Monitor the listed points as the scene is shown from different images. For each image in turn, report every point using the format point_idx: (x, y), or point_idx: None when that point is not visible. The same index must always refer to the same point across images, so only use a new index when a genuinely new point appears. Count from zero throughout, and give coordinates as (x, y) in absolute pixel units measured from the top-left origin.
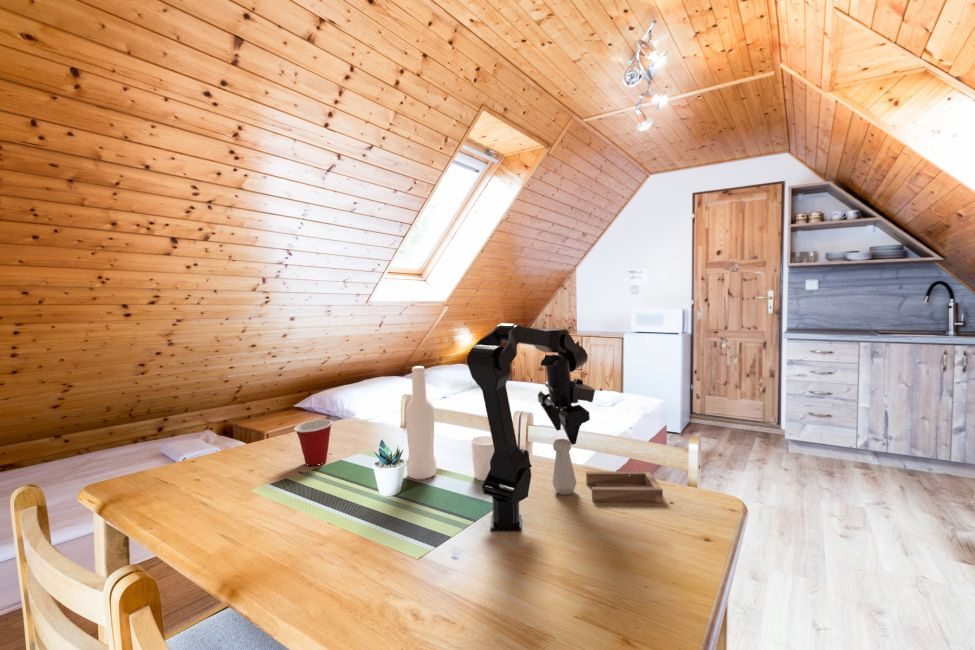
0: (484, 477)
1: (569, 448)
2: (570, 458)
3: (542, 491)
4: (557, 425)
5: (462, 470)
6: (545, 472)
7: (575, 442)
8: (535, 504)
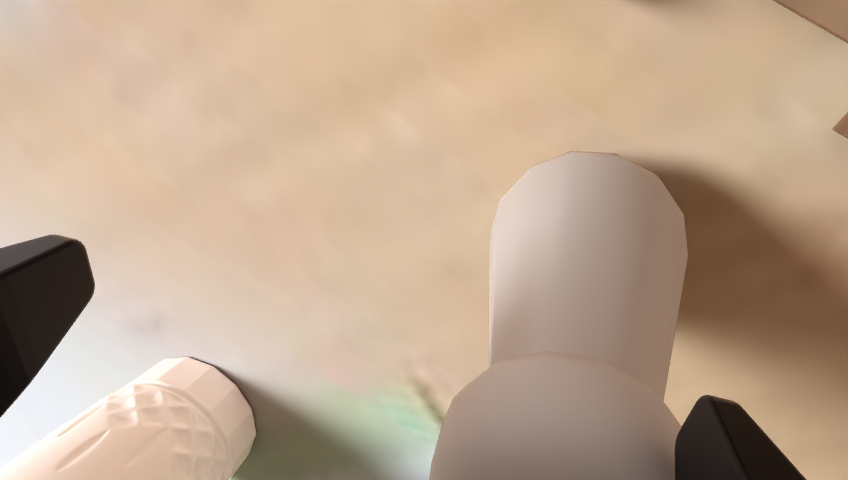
0: (240, 464)
1: None
2: (641, 316)
3: None
4: (17, 339)
5: None
6: (244, 119)
7: (751, 432)
8: None
